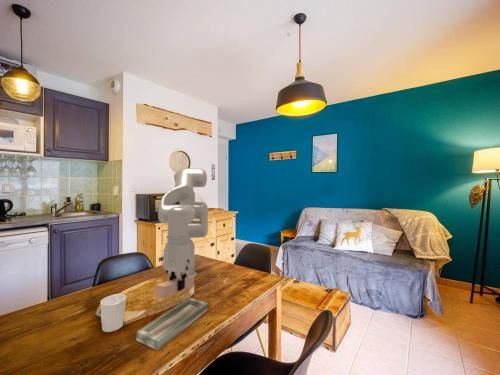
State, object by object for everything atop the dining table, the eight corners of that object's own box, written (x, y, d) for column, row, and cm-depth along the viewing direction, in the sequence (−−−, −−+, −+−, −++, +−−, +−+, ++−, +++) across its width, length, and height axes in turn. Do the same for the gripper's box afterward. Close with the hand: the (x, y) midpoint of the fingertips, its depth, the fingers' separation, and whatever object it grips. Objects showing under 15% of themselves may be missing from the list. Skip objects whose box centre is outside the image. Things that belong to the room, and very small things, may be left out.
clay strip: (154, 296, 77) (156, 284, 77) (186, 284, 91) (187, 274, 91) (162, 299, 75) (163, 286, 76) (193, 286, 90) (194, 276, 90)
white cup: (98, 336, 76) (99, 307, 76) (101, 323, 83) (102, 296, 83) (124, 329, 80) (125, 302, 80) (125, 317, 87) (126, 292, 87)
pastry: (103, 305, 96) (103, 296, 96) (121, 303, 97) (121, 295, 97) (94, 317, 87) (94, 308, 87) (113, 316, 88) (114, 306, 88)
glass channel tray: (136, 340, 74) (136, 331, 74) (189, 304, 98) (189, 297, 98) (157, 350, 70) (158, 341, 70) (207, 310, 94) (207, 303, 93)
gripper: (154, 239, 84) (153, 287, 84) (188, 245, 77) (187, 298, 77) (169, 235, 91) (168, 280, 91) (201, 240, 83) (200, 289, 83)
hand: (176, 288), depth 84 cm, fingers closed on clay strip, 3 cm apart
